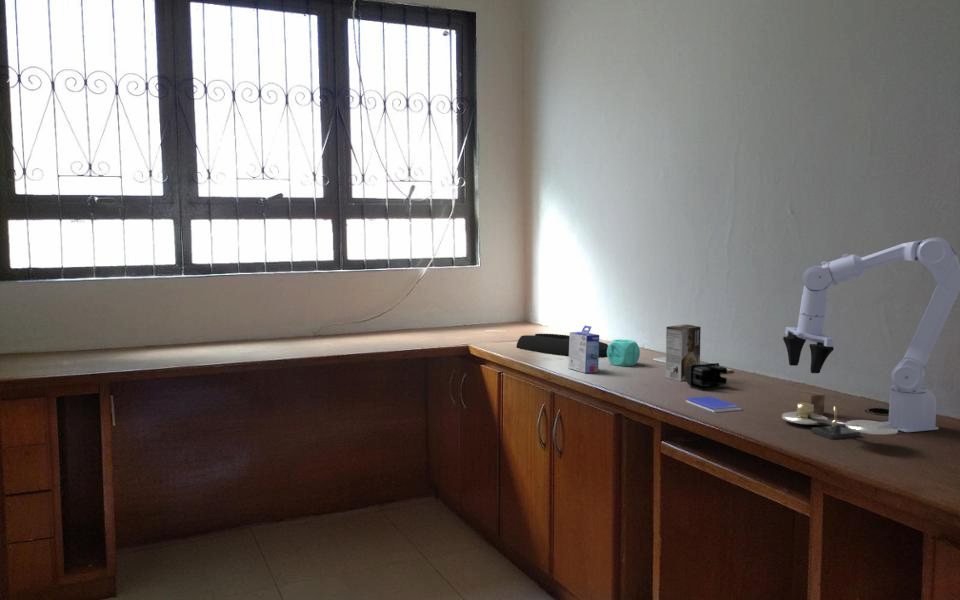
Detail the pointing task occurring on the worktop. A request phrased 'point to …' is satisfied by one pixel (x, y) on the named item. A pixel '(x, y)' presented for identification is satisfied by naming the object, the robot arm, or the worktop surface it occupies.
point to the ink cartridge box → (584, 351)
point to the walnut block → (814, 401)
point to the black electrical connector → (705, 376)
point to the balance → (837, 424)
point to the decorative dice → (623, 352)
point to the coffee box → (681, 350)
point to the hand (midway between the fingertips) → (803, 369)
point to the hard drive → (713, 404)
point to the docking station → (552, 344)
